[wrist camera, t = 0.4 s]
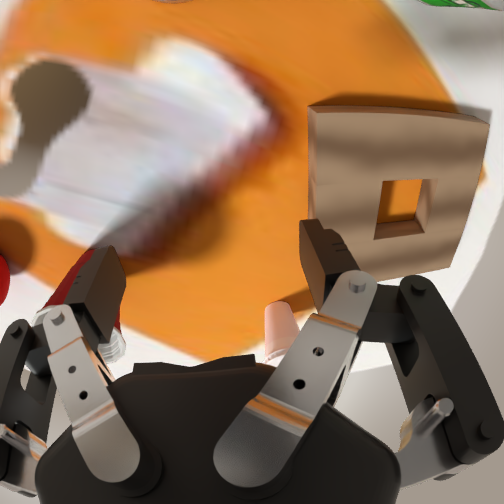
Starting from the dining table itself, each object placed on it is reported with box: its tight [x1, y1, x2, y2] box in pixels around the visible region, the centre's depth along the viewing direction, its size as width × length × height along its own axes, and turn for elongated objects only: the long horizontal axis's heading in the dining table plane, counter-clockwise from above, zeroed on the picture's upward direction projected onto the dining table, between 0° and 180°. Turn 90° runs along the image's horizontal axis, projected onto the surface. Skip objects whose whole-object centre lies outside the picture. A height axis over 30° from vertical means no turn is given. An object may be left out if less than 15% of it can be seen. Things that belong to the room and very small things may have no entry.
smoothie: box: [263, 301, 300, 367], centre depth 38 cm, size 6×6×14 cm
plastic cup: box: [31, 249, 126, 364], centre depth 31 cm, size 11×11×12 cm
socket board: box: [308, 105, 490, 282], centre depth 32 cm, size 22×22×3 cm
